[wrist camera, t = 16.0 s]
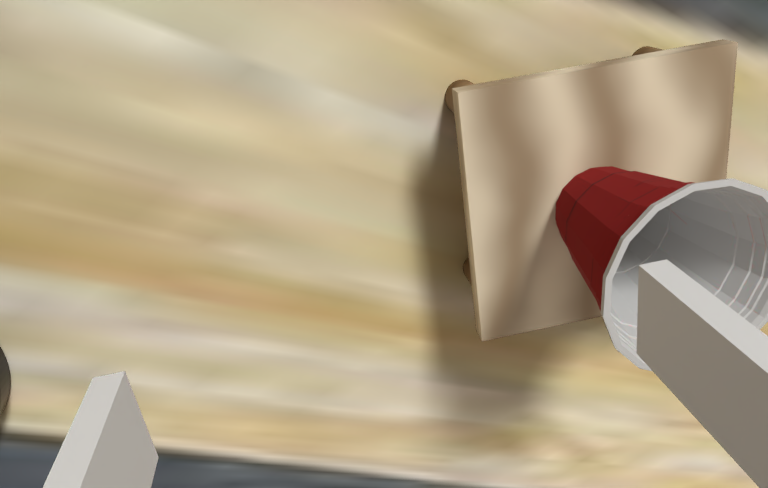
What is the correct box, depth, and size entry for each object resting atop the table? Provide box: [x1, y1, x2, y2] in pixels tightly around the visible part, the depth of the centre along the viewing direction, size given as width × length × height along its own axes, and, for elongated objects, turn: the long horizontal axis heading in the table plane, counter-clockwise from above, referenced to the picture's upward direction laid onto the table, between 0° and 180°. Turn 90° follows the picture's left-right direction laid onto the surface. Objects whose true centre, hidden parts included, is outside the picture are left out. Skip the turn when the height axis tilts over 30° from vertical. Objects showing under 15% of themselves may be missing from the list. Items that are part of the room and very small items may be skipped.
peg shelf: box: [445, 40, 738, 341], centre depth 46 cm, size 18×18×8 cm
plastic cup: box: [555, 166, 768, 371], centre depth 37 cm, size 11×11×12 cm
